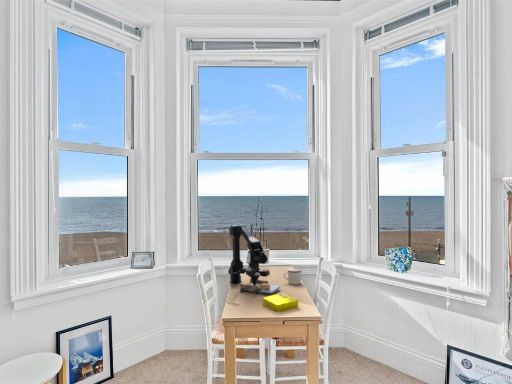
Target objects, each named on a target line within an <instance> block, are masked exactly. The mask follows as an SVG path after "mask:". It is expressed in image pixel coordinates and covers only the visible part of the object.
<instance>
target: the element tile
mask: <svg viewBox="0 0 512 384" xmlns="http://www.w3.org/2000/svg"><path fill="white" fill-rule="evenodd" d="M262 305H263V306H264V307H265V308H268V309H269V310H271V311H273V312H275V313H283V312H287V311H290V310H294V309H298V308H299V299H298V298H296V297H294V296H291V295H288V294H287V293H283V292H282V293H277V294H272V295H268V296H264V297H263V298H262Z"/></svg>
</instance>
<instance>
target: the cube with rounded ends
mask: <svg viewBox="0 0 512 384" xmlns="http://www.w3.org/2000/svg"><path fill="white" fill-rule="evenodd" d="M270 285H271V284H270V283H268V284H267V283H263V284H260V288H261V289H262V290H269V289H270Z"/></svg>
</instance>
